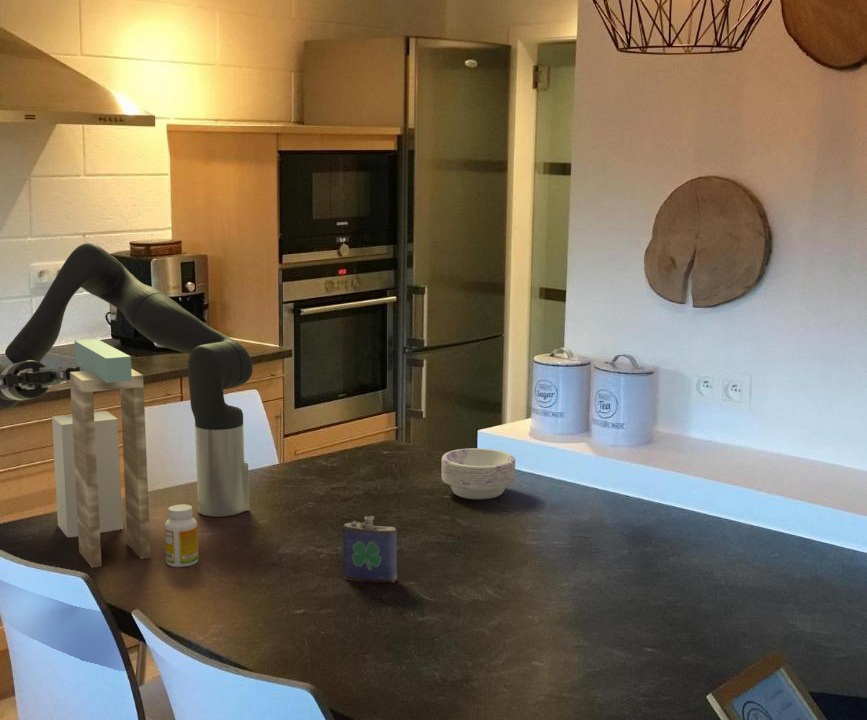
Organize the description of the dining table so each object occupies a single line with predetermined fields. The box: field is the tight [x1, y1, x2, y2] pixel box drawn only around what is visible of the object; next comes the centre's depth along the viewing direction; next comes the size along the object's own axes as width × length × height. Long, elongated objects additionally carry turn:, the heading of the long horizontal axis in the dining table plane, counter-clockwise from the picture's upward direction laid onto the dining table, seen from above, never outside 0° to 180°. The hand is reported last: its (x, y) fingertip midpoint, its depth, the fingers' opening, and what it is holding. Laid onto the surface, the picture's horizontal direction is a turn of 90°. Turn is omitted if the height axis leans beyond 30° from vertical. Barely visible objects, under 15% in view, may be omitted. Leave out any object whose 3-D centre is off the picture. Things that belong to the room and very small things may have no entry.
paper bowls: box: [441, 447, 516, 500], centre depth 233 cm, size 15×15×8 cm
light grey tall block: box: [51, 410, 124, 539], centre depth 210 cm, size 10×8×21 cm
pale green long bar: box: [74, 338, 132, 383], centre depth 193 cm, size 4×22×4 cm, turn 30°
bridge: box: [69, 368, 152, 569], centre depth 194 cm, size 10×9×32 cm
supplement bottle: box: [164, 503, 199, 568], centre depth 192 cm, size 5×5×10 cm
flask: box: [342, 515, 398, 584], centre depth 184 cm, size 9×3×11 cm, turn 74°
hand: (53, 375), depth 211 cm, fingers open, 8 cm apart
